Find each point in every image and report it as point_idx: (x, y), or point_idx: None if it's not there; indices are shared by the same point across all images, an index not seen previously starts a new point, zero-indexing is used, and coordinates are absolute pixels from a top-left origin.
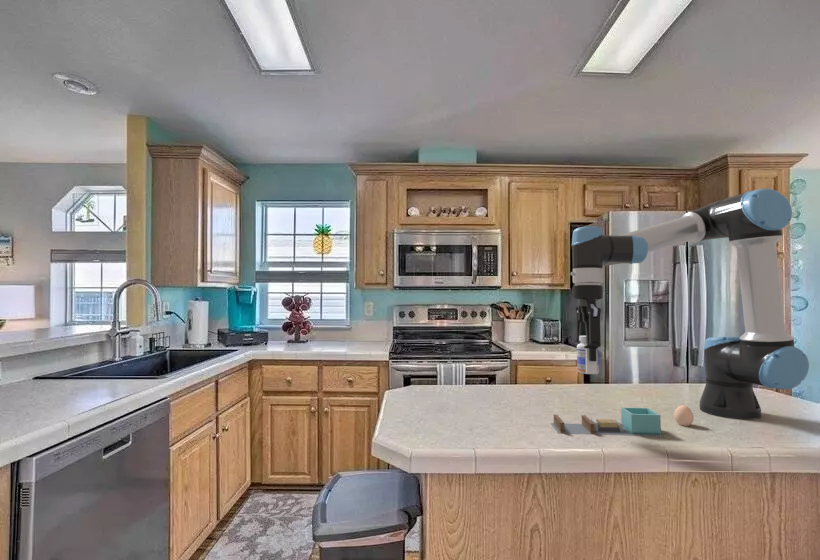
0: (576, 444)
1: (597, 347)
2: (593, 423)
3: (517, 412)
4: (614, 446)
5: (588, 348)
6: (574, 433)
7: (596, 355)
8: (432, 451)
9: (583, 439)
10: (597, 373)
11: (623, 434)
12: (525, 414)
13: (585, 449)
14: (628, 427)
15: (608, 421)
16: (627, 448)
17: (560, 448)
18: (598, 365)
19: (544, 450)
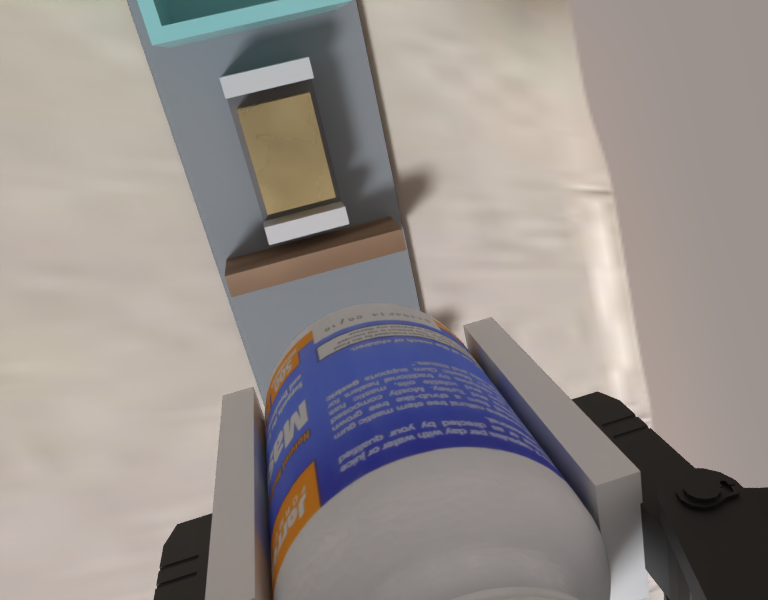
0: (543, 294)
1: (724, 482)
2: (396, 234)
3: (95, 591)
4: (535, 133)
5: (640, 576)
6: (416, 309)
7: (585, 423)
8: None
9: (467, 266)
10: (492, 319)
11: (355, 63)
12: (118, 551)
13: (598, 259)
14: (287, 20)
15: (293, 144)
16: (551, 74)
17: (603, 349)
18: (431, 337)
19: (634, 399)
